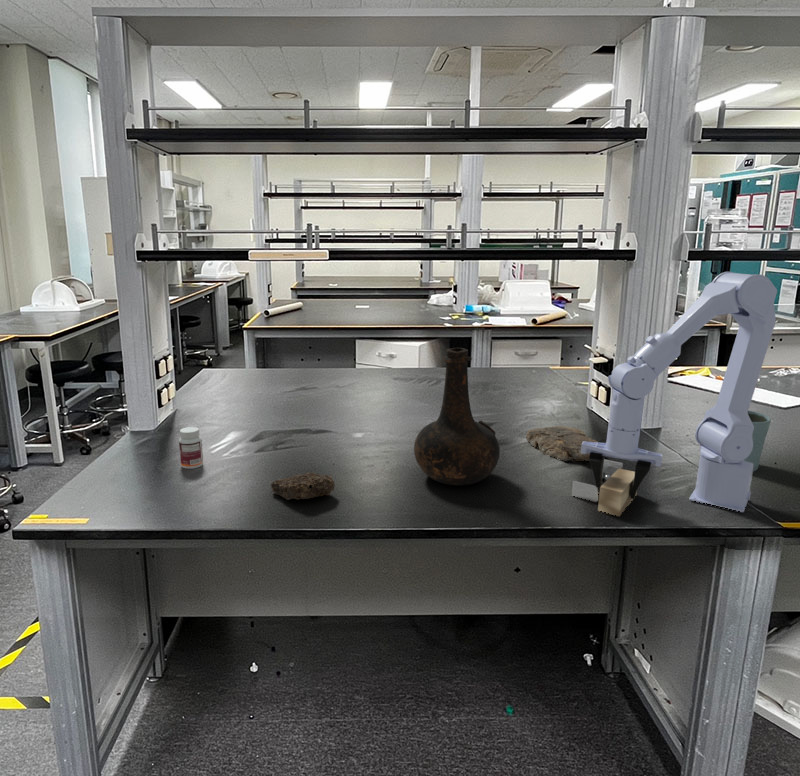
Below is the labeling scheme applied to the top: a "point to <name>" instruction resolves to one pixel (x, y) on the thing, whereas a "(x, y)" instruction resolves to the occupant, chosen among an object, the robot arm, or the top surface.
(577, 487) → the grey blocks and balls
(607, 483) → the oak block
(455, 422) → the glass bottle
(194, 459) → the pill bottle
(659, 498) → the top surface
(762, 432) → the green ceramic planter
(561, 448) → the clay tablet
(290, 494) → the brown rock
